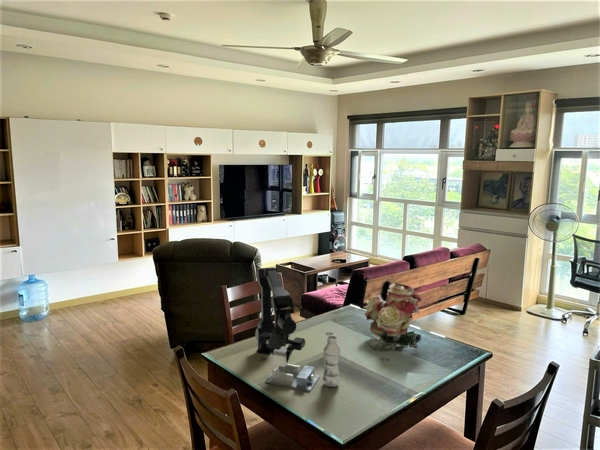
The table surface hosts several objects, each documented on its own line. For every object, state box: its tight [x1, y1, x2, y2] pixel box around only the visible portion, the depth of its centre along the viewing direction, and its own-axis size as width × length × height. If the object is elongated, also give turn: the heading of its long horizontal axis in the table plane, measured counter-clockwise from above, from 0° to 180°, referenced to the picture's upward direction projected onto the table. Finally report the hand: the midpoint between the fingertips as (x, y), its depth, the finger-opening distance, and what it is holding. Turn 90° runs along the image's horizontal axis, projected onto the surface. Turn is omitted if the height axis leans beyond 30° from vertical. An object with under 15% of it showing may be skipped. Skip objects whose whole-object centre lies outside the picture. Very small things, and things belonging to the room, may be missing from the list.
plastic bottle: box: [322, 335, 341, 388], centre depth 172 cm, size 6×7×20 cm
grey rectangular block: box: [272, 346, 290, 367], centre depth 178 cm, size 5×5×6 cm
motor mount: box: [265, 363, 321, 393], centre depth 177 cm, size 19×12×5 cm, turn 70°
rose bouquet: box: [362, 282, 423, 353], centre depth 210 cm, size 26×29×30 cm
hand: (281, 360), depth 178 cm, fingers closed on grey rectangular block, 5 cm apart
